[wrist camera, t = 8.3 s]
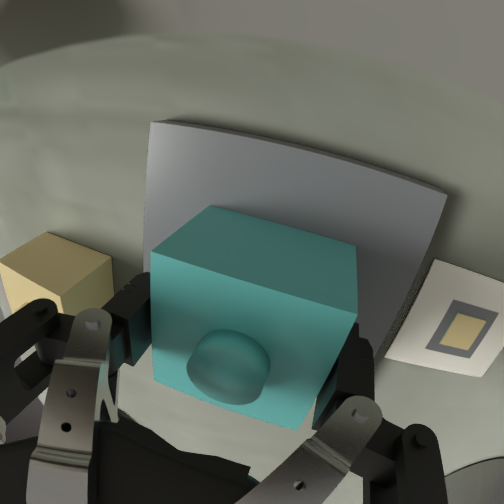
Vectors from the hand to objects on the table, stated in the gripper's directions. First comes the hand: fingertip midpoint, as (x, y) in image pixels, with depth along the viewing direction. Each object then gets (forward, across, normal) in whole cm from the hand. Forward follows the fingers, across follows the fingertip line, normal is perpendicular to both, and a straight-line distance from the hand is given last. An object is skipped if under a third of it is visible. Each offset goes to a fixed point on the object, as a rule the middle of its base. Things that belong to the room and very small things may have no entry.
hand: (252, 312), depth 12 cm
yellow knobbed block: (+3, +12, +5) cm, 13 cm away
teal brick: (+2, 0, 0) cm, 2 cm away
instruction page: (+3, -10, 0) cm, 11 cm away
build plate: (+3, 0, 0) cm, 3 cm away
